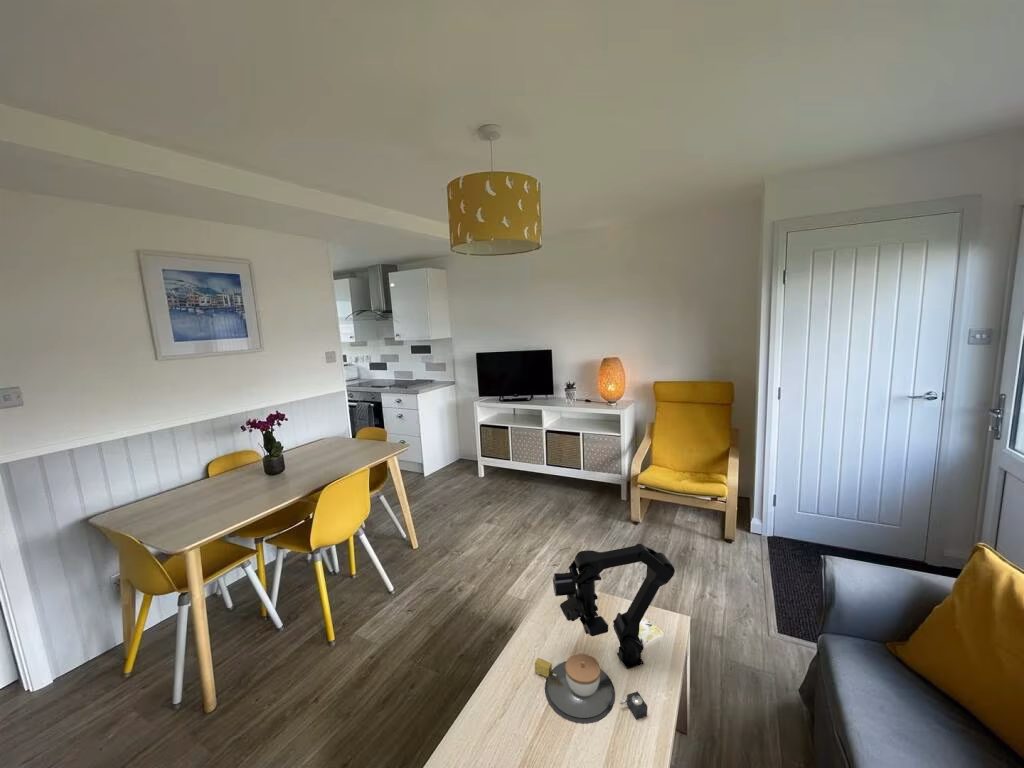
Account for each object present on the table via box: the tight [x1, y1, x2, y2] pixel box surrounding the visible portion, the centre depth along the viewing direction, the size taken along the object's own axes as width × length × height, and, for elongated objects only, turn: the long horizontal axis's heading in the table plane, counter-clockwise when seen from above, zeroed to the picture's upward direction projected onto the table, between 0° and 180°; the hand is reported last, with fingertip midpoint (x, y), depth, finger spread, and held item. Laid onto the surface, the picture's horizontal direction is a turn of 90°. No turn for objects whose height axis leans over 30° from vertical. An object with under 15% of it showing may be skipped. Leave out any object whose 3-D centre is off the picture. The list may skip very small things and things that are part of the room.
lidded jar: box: [565, 653, 602, 697], centre depth 132 cm, size 11×11×9 cm
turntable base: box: [544, 667, 616, 724], centre depth 133 cm, size 22×22×1 cm
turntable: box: [534, 657, 613, 719], centre depth 134 cm, size 25×20×3 cm
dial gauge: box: [619, 691, 648, 721], centre depth 125 cm, size 6×5×4 cm
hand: (587, 633), depth 140 cm, fingers closed
